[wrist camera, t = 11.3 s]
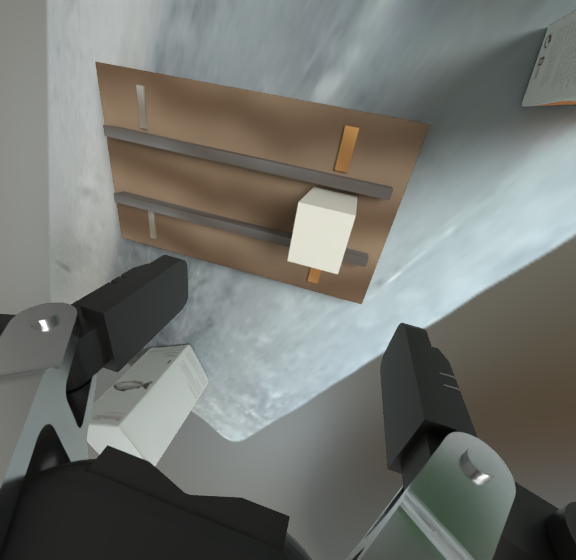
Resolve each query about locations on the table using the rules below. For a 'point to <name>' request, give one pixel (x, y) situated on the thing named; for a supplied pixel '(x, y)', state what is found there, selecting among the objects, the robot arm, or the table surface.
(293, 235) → the fader tab
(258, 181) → the fader console
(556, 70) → the skincare box
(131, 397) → the supplement box
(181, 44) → the table surface
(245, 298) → the table surface
